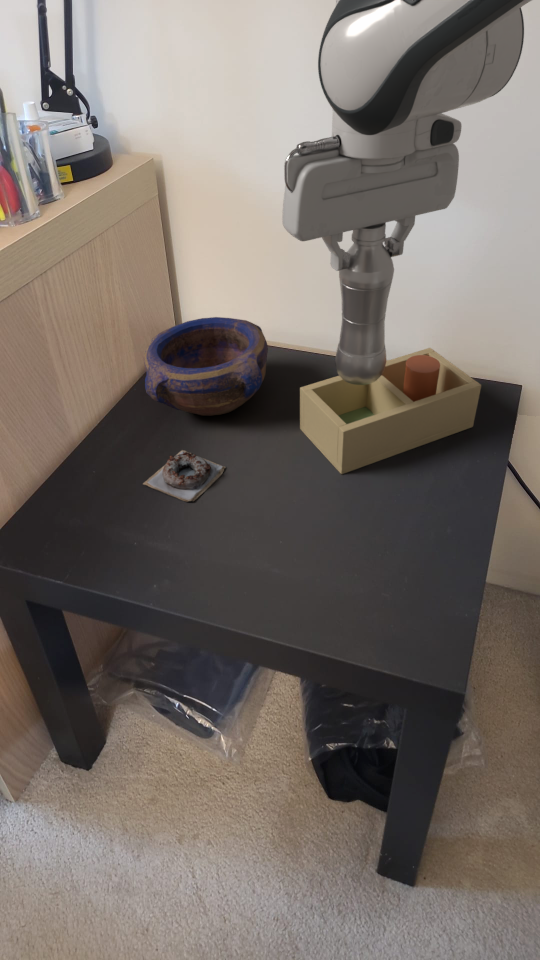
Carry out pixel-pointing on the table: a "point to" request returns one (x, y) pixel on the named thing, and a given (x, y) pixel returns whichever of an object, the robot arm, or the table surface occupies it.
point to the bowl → (206, 365)
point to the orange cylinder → (421, 377)
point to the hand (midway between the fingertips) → (367, 261)
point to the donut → (185, 476)
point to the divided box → (385, 413)
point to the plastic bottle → (364, 307)
